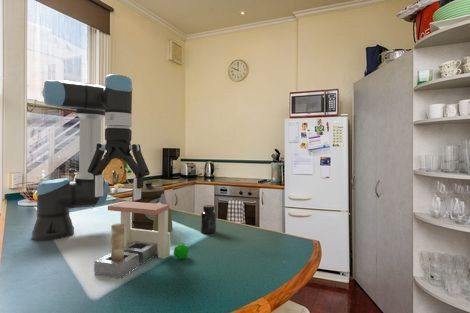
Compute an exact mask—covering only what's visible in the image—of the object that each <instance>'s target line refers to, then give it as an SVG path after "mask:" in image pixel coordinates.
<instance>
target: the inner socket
mask: <svg viewBox="0 0 470 313" xmlns="http://www.w3.org/2000/svg"><path fill="white" fill-rule="evenodd" d="M124 252H127V253H135V254H139V263H142V264H141V265H143V263H144V262H145V263H146V261H147V260H148V261H150V260H151V259H153V258H154V257H156V256H158V255H157V243H149V242H141V241H133V242H131V243H129V244H127V245H125V246H124ZM155 255H156V256H155ZM153 256H154V257H153ZM152 257H153V258H152ZM150 258H151V259H150ZM149 259H150V260H149ZM148 261H147V262H148ZM145 263H144V264H145Z"/></svg>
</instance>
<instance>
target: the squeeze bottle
mask: <svg viewBox="0 0 470 313" xmlns="http://www.w3.org/2000/svg"><path fill="white" fill-rule="evenodd" d="M157 204H166V205H169V206H170V204H169V202H167V199H166V194H165V193H164V194H162V196H161V200H160V202H159V203H157ZM173 229H174V228H173V218H172V209H171V208H170V207H169V209H168V232H169V233H170V235H171V234H172V231H173ZM153 230H154V231H158V214H156V215H154V223H153Z"/></svg>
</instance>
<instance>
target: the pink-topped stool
mask: <svg viewBox="0 0 470 313" xmlns="http://www.w3.org/2000/svg"><path fill="white" fill-rule="evenodd" d="M169 208H170V204H169V205H166V204H153V203H141V202H132V201H127V200H124V201H121V202H120V201H119V202H118V203H113V204H109V205H107V211H112V212H120V224H124V246H125V245H127V244H129V243H131V242H133V241H141V242H149V243H157V254H158V255H157V258H158V259H164V260H165V258H166V259H167V257H170V256H171V234H170V233H169V232H168V209H169ZM132 213H142V214H153V215H156V214H158V231H151V230H142V229H133V228H131V222H132V219H131V216H132Z"/></svg>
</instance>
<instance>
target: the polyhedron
mask: <svg viewBox="0 0 470 313" xmlns="http://www.w3.org/2000/svg"><path fill="white" fill-rule="evenodd" d="M173 255H174V257H175V258H177V259H179V260H184V259H186V258H187V257H188V255H189V247H188V246H187V245H185V244H184V243H180V244H178V245H176V246H175V247H174V249H173Z"/></svg>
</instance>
